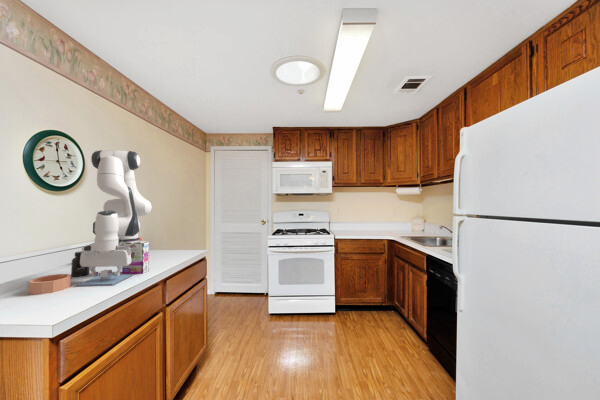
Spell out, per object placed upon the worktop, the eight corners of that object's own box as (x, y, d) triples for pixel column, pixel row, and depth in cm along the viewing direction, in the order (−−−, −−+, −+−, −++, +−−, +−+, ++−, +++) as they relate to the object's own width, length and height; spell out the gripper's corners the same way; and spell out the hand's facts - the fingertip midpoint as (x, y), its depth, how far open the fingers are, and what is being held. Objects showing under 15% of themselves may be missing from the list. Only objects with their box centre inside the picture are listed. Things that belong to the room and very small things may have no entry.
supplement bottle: (78, 278, 117) (79, 253, 117) (67, 277, 118) (67, 253, 118) (93, 274, 124) (93, 250, 124) (82, 273, 125) (82, 250, 125)
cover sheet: (100, 276, 119) (100, 266, 119) (130, 275, 121) (131, 266, 121) (77, 286, 105) (77, 275, 105) (112, 285, 107) (112, 274, 107)
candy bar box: (149, 272, 129) (149, 241, 129) (142, 274, 124) (143, 242, 124) (128, 271, 129) (129, 240, 129) (121, 274, 124) (122, 242, 124)
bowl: (47, 285, 107) (48, 274, 107) (77, 284, 108) (78, 273, 108) (19, 296, 95) (19, 283, 95) (53, 295, 96) (54, 282, 96)
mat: (99, 276, 120) (99, 275, 120) (134, 276, 122) (134, 275, 122) (73, 288, 104) (73, 286, 104) (113, 286, 106) (113, 285, 106)
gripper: (134, 244, 117) (133, 273, 117) (88, 245, 115) (87, 274, 115) (126, 246, 111) (126, 277, 111) (77, 247, 109) (76, 278, 109)
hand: (106, 275), depth 113 cm, fingers open, 8 cm apart
